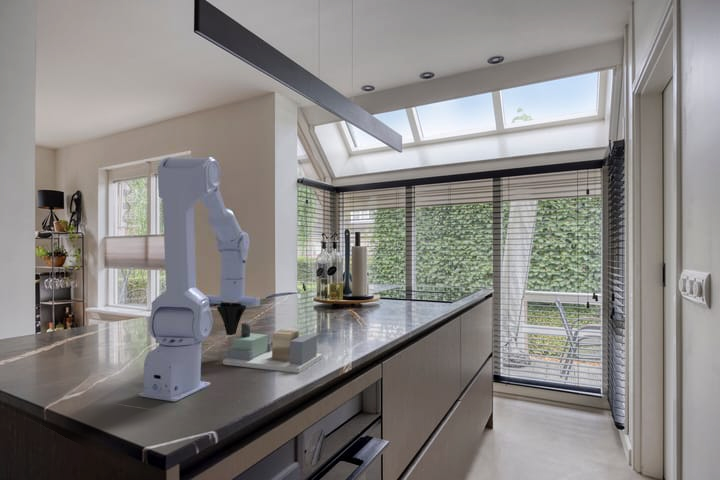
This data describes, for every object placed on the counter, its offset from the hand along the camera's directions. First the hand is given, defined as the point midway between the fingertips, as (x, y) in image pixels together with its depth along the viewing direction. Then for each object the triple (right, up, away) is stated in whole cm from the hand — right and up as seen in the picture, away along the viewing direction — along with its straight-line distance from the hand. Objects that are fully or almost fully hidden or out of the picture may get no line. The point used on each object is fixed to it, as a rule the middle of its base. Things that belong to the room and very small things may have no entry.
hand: (231, 334), depth 98 cm
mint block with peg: (+5, -4, -2) cm, 7 cm away
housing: (+14, -4, -5) cm, 16 cm away
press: (+11, -6, -4) cm, 13 cm away
